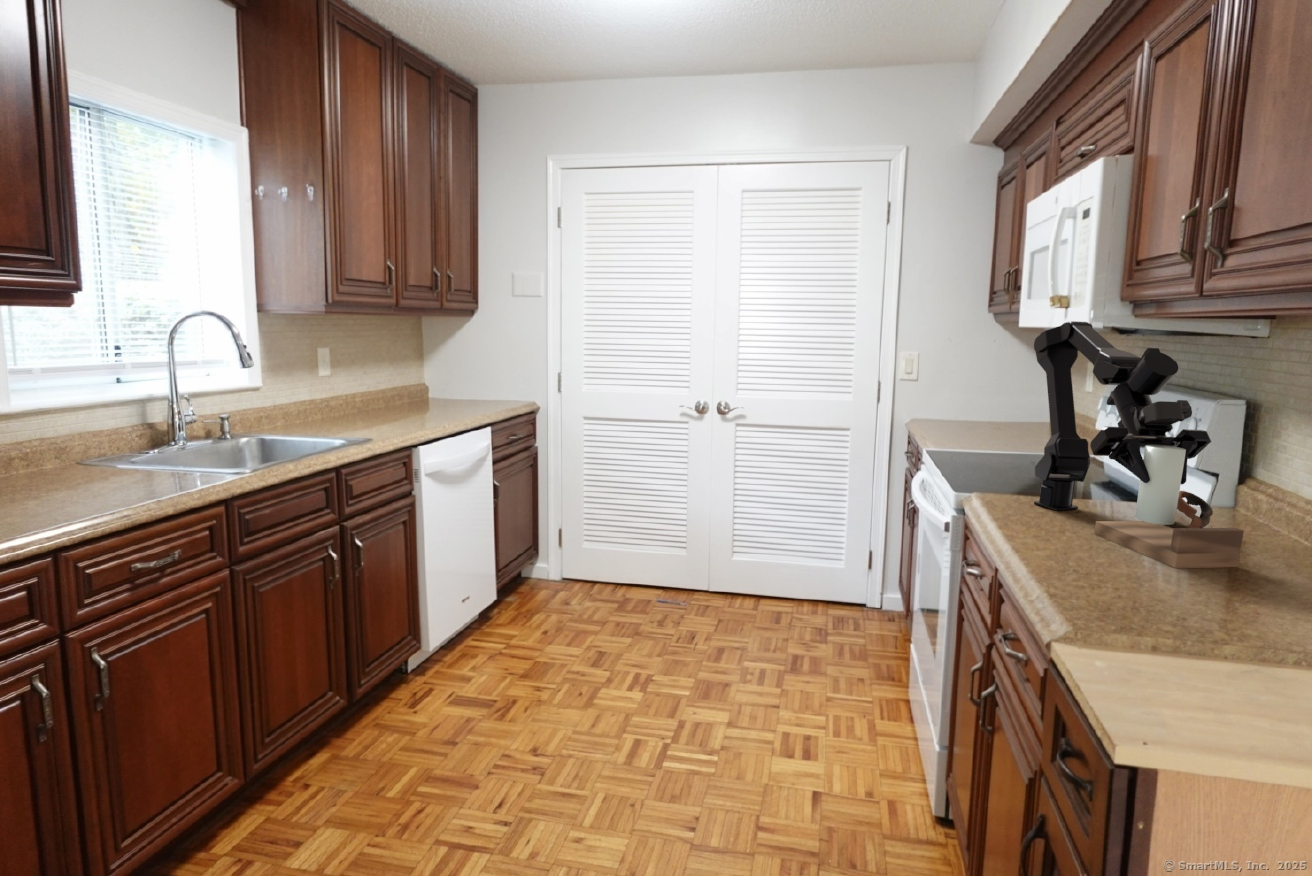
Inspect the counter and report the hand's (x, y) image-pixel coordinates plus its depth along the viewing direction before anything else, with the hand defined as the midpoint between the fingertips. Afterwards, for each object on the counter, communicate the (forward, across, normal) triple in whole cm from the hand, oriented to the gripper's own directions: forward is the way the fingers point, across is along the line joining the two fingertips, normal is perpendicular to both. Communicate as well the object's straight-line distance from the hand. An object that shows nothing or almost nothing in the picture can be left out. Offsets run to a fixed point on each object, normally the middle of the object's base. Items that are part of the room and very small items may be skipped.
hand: (1165, 482), depth 138 cm
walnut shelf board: (+6, +4, +13) cm, 15 cm away
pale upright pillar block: (+4, 0, +6) cm, 7 cm away
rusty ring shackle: (-6, +18, +25) cm, 31 cm away
